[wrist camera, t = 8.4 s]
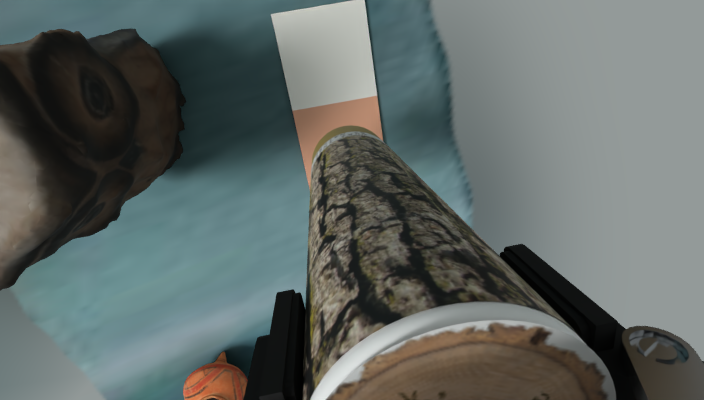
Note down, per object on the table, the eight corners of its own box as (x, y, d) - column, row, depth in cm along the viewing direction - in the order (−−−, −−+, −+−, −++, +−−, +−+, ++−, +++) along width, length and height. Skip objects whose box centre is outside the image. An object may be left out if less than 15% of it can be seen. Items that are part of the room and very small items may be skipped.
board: (242, -118, 29) (241, -120, 28) (346, -134, 29) (347, -136, 29) (310, 190, 39) (310, 191, 38) (387, 175, 39) (387, 176, 39)
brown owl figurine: (160, 29, 32) (-60, -33, 13) (235, 148, 36) (150, 228, 18) (47, 91, 33) (-309, 116, 14) (134, 200, 37) (-48, 328, 18)
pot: (184, 347, 44) (178, 389, 38) (247, 338, 47) (251, 377, 41) (186, 394, 47) (181, 441, 41) (245, 383, 49) (249, 426, 43)
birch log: (302, 185, 31) (261, 536, 7) (324, 112, 29) (367, 281, 5) (371, 206, 32) (521, 555, 9) (397, 138, 30) (681, 357, 7)
